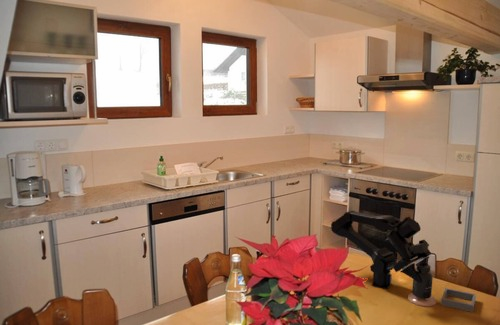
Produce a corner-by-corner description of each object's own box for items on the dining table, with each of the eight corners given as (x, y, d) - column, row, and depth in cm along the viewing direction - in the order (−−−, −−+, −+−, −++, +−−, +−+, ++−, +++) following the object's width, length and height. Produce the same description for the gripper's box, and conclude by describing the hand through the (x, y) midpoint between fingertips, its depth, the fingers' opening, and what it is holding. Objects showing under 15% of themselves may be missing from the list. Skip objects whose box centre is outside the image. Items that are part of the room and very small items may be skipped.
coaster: (405, 302, 157) (405, 300, 157) (411, 292, 165) (411, 290, 165) (434, 309, 152) (434, 307, 151) (438, 298, 160) (438, 296, 160)
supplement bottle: (430, 300, 154) (432, 270, 152) (411, 296, 157) (412, 266, 155) (432, 293, 160) (434, 263, 158) (413, 289, 163) (415, 260, 161)
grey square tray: (440, 304, 155) (441, 298, 154) (445, 293, 163) (445, 287, 163) (473, 312, 149) (473, 305, 149) (475, 300, 158) (475, 294, 157)
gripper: (401, 239, 152) (428, 277, 145) (428, 229, 164) (454, 264, 157) (382, 253, 159) (407, 290, 153) (408, 243, 171) (432, 277, 164)
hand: (426, 280), depth 156 cm, fingers closed on supplement bottle, 7 cm apart
